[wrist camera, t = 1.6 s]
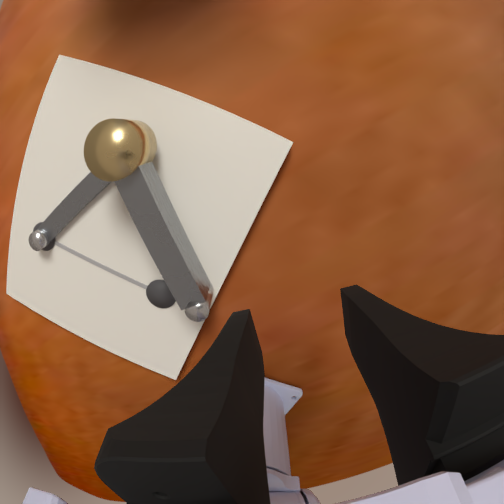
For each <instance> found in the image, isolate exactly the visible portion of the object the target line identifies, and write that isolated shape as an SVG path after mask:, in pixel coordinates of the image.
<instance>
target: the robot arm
mask: <svg viewBox="0 0 504 504" xmlns="http://www.w3.org/2000/svg"><path fill="white" fill-rule="evenodd" d="M340 290H341V299H342V307H343V316H344V326H345V335H346V338H347V341H348V344H349V347H350V350H351V353H352V356H353V358H354V360H355V362H356V364H357V366H358V368H359V370H360V372H361V374H362V377H363V379H364V381H365V383H366V385H367V387H368V389H369V391H370V393H371V395H372V397H373V400H374V402H375V404H376V407H377V409H378V412H379V416H380V419H381V422H382V425H383V428H384V431H385V435H386V438H387V442H388V445H389V449H390V453H391V457H392V460H393V464H394V468H395V472H396V477H397V482H398V486H396V487H394V488H390V489H388V490H384V491H381V492H378V493H374V494H371V495H367V496H364V497H360V498H356V499H352V500H348V501H344V502H340V503H335V504H504V335H490V334H481V333H473V332H467V331H462V330H457V329H453V328H449V327H445V326H441V325H438V324H435V323H432V322H429V321H426V320H423V319H421V318H418V317H416V316H413V315H411V314H409V313H407V312H405V311H402V310H400V309H398V308H396V307H394V306H393V305H391V304H389V303H387V302H385V301H383V300H382V299H380V298H378V297H376V296H375V295H373V294H371V293H370V292H368V291H366V290H365V289H363V288H361V287H360V286H358V285H353V286H349V287H345V288H341V289H340ZM302 394H303V392H302V390H301V389H300V388H297V387H294V386H290V385H287V384H284V383H280V382H277V381H274V380H271V379H268V378H265V375H264V365H263V356H262V351H261V347H260V344H259V340H258V337H257V333H256V330H255V326H254V323H253V320H252V316H251V313H250V309H247V310H242V311H237V312H233V313H232V315H231V316H230V318H229V319H228V321H227V322H226V324H225V326H224V327H223V329H222V330H221V332H220V334H219V335H218V337H217V338H216V340H215V341H214V343H213V344H212V346H211V347H210V348H209V350H208V351H207V352H206V354H205V355H204V356H203V357H202V359H201V360H200V361H199V362H198V364H197V365H196V366H195V367H194V368H193V369H192V370H191V371H190V372H189V373H188V374H187V375H186V376H185V377H184V378H183V379H182V380H181V381H180V382H179V383H178V384H177V385H176V386H174V387H173V388H172V389H171V390H170V391H169V392H167V393H166V394H165V395H164V396H163V397H161V398H160V399H159V400H157V401H156V402H154V403H153V404H151V405H150V406H149V407H147V408H145V409H144V410H142V411H141V412H139V413H137V414H136V415H134V416H132V417H130V418H129V419H127V420H125V421H123V422H121V423H119V424H117V425H115V426H113V427H111V428H109V429H108V431H107V433H106V435H105V438H104V441H103V443H102V446H101V448H100V451H99V454H98V456H97V459H96V462H95V467H94V468H95V471H96V473H97V475H98V476H99V478H100V479H101V480H102V481H103V482H104V483H105V484H106V485H107V486H108V487H109V488H110V489H111V490H113V491H114V492H115V493H116V494H117V495H118V496H120V497H121V498H122V499H123V500H124V501H126V502H127V504H320V502H319V500H318V498H317V497H316V496H315V495H314V494H313V493H312V491H310V490H309V489H300V483H299V477H298V476H291V470H290V460H289V451H288V441H287V432H286V422H285V415H286V414H287V413H288V411H289V410H290V409H291V408H292V407H293V406H294V404H295V403H296V402H297V401H298V400H299V399H300V397H301V396H302ZM293 396H295V397H293ZM23 504H68V503H67V502H65V501H64V500H63V499H61V498H60V497H58V496H56V495H54V494H52V493H49V492H46V491H43V490H39V489H36V488H33V487H30V488H29V490H28V492H27V494H26V497H25V499H24V501H23Z"/></svg>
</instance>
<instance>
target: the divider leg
mask: <svg viewBox="0 0 504 504" xmlns="http://www.w3.org/2000/svg"><path fill="white" fill-rule="evenodd" d="M156 151H157V140H156V136H155V134H154V132H153V130H152V129H151V128H150V127H149V126H148V125H147V124H146V123H144V122H142V121H138V120H129V119H115V118H112V119H106V120H103V121H101V122H99V123H98V124H96V125H95V126H94V127H93V128H92V129H91V130H90V132H89V133H88V135H87V137H86V140H85V144H84V159H85V163H86V165H87V167H88V169H89V170H90V172H91V173H92V174H93V175H94V176H95V177H97V178H99V179H101V180H104V181H114V182H115V184H116V186H117V188H118V191H119V193H120V195H121V197H122V199H123V201H124V203H125V205H126V207H127V209H128V212H129V214H130V216H131V218H132V220H133V222H134V224H135V226H136V228H137V230H138V232H139V234H140V236H141V238H142V239H143V241H144V243H145V245H146V247H147V249H148V251H149V253H150V255H151V257H152V259H153V260H154V262H155V264H156V266H157V268H158V270H159V272H160V273H161V275H162V277H163V279H164V281H165V283H166V284H167V286H168V288H169V290H170V291H171V293H172V295H173V297H174V298H175V300H176V302H177V304H178V305H179V307H180V309H181V310H184V309H185V314H186V316H187V317H188V318H189V319H190V320H192V321H195V322H201V321H204V320H205V319H206V318H207V317H208V315H209V310H210V305H211V301H212V296H213V291H214V288H213V285H212V284H211V282H210V280H209V279H208V277H207V275H206V273H205V271H204V269H203V267H202V265H201V263H200V261H199V259H198V257H197V255H196V253H195V251H194V249H193V247H192V245H191V243H190V241H189V239H188V237H187V235H186V232H185V230H184V228H183V226H182V224H181V222H180V220H179V218H178V216H177V214H176V212H175V210H174V208H173V205H172V203H171V201H170V199H169V197H168V195H167V193H166V191H165V188H164V186H163V184H162V182H161V180H160V178H159V175H158V173H157V171H156V169H155V167H154V165H153V162H152V161H153V159H154V157H155V155H156Z"/></svg>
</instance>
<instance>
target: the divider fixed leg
mask: <svg viewBox="0 0 504 504" xmlns="http://www.w3.org/2000/svg"><path fill="white" fill-rule="evenodd" d="M111 182H112V181H104V180H101V179H99V178H97V177H95V176H94V175H93V174H92V173H91V172H90V173H89V174H88V175H87V176H86V177H85V178H84V179H83V180H82V181H81V182H80V183H79V184H78V185H77V186H76V187H75V188H74V189H73V190H72V191H71V192H70V193H69V194H68V195H67V196H66V197H65V198H64V200H63V201H62V202H61V203H60V204H59V205H58V206H57V207H56V208H55V209H54V210H53V212H52V213H51V214H50V215H49V216H48V217H47V218H46V219H45V221H44V222H43V223H42V224H41V225H40V226H39V228H38V229H37V230H36V231H34V232H32V233H31V234H30V235H29V244H30V246H31V248H32V249H33V250H35V251H40V250H41V249H43V248H44V247H46V246H47V245H49V243H50V242H51V241H52V240H53V239H54V238H55V237H56V236H57V235H58V234H59V233H60V232H61V231H62V230H63V229H64V228H65V227H66V226H67V225H68V224H69V223H70V222H71V221H72V220H73V219H74V218H75V217H76V216H77V215H78V214H79V213H80V212H81V211H82V210H83V209H84V208H85V207H86V206H87V205H88V204H89V203H90V202H91V201H92V200H93V199H94V198H95V197H96V196H97V195H98V194H99V193H100V192H101V191H103V190H104V189H105V188H106V187H107V186H108V185H109V184H110V183H111Z"/></svg>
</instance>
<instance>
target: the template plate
mask: <svg viewBox="0 0 504 504" xmlns="http://www.w3.org/2000/svg"><path fill="white" fill-rule="evenodd" d="M112 118H115V119H129V120H138V121H142V122H144V123H146V124H147V125H148V126H149V127H150V128H151V129H152V130H153V132H154V134H155V136H156V140H157V151H156V155H155V157H154V159H153V161H152V162H153V165H154V167H155V169H156V171H157V173H158V175H159V178H160V180H161V182H162V184H163V186H164V188H165V191H166V193H167V195H168V197H169V199H170V201H171V203H172V205H173V208H174V210H175V212H176V214H177V216H178V218H179V220H180V222H181V224H182V226H183V228H184V230H185V232H186V235H187V237H188V239H189V241H190V243H191V245H192V247H193V249H194V251H195V253H196V255H197V257H198V259H199V261H200V263H201V265H202V267H203V269H204V271H205V273H206V275H207V277H208V279H209V280H210V282H211V284H212V285H213V288H214V291H213V296H212V301H211V305H210V308H211V306H212V304H213V302H214V300H215V298H216V296H217V294H218V292H219V290H220V288H221V286H222V284H223V282H224V280H225V278H226V276H227V274H228V272H229V270H230V268H231V266H232V264H233V262H234V260H235V258H236V256H237V253H238V251H239V249H240V247H241V245H242V243H243V241H244V239H245V237H246V235H247V233H248V231H249V229H250V227H251V225H252V223H253V221H254V219H255V217H256V215H257V213H258V211H259V209H260V207H261V205H262V203H263V201H264V199H265V197H266V195H267V193H268V191H269V189H270V187H271V185H272V183H273V181H274V179H275V177H276V175H277V173H278V171H279V169H280V168H281V166H282V164H283V162H284V160H285V158H286V156H287V154H288V152H289V150H290V148H291V146H292V144H293V142H291V141H290V140H288V139H286V138H283V137H281V136H279V135H277V134H275V133H273V132H271V131H269V130H267V129H265V128H263V127H261V126H259V125H256V124H254V123H252V122H250V121H248V120H245V119H243V118H241V117H239V116H237V115H234V114H232V113H230V112H227V111H225V110H223V109H220V108H218V107H216V106H213V105H211V104H208V103H206V102H203V101H201V100H199V99H196V98H193V97H191V96H188V95H186V94H183V93H181V92H178V91H175V90H173V89H170V88H167V87H164V86H162V85H159V84H156V83H153V82H150V81H147V80H145V79H142V78H139V77H136V76H133V75H129V74H126V73H123V72H120V71H117V70H114V69H110V68H107V67H103V66H100V65H97V64H93V63H89V62H86V61H82V60H78V59H74V58H70V57H66V56H62V55H59V57H58V59H57V61H56V64H55V66H54V68H53V71H52V73H51V76H50V78H49V81H48V84H47V86H46V89H45V92H44V94H43V97H42V100H41V103H40V106H39V109H38V112H37V115H36V118H35V121H34V124H33V128H32V131H31V135H30V138H29V142H28V145H27V149H26V153H25V157H24V161H23V166H22V170H21V175H20V179H19V184H18V189H17V195H16V200H15V206H14V213H13V220H12V227H11V235H10V244H9V255H8V269H7V293H6V294H8V295H10V296H11V297H13V298H14V299H16V300H17V301H19V302H20V303H22V304H24V305H25V306H27V307H29V308H30V309H32V310H33V311H35V312H37V313H38V314H40V315H42V316H44V317H45V318H47V319H49V320H50V321H52V322H54V323H56V324H58V325H59V326H61V327H63V328H65V329H67V330H68V331H70V332H72V333H74V334H76V335H78V336H80V337H82V338H84V339H86V340H87V341H89V342H91V343H93V344H95V345H97V346H99V347H102V348H104V349H106V350H108V351H110V352H112V353H114V354H116V355H118V356H120V357H123V358H125V359H127V360H129V361H131V362H134V363H136V364H138V365H141V366H143V367H145V368H148V369H150V370H152V371H155V372H157V373H160V374H162V375H164V376H167V377H169V378H172V379H175V380H176V379H177V377H178V375H179V373H180V370H181V368H182V366H183V364H184V362H185V360H186V358H187V356H188V354H189V352H190V350H191V348H192V346H193V343H194V341H195V339H196V337H197V335H198V333H199V331H200V329H201V327H202V325H203V323H204V321H205V320H204V321H201V322H195V321H192V320H190V319H189V318H188V317H187V316H186V314H185V309H184V310H181V309H180V307H179V305H178V304H177V302H176V300H175V298H174V297H173V295H172V293H171V291H170V290H169V288H168V286H167V284H166V283H165V281H164V279H163V277H162V275H161V273H160V272H159V270H158V268H157V266H156V264H155V262H154V260H153V259H152V257H151V255H150V253H149V251H148V249H147V247H146V245H145V243H144V241H143V239H142V238H141V236H140V234H139V232H138V230H137V228H136V226H135V224H134V222H133V220H132V218H131V216H130V214H129V212H128V209H127V207H126V205H125V203H124V201H123V199H122V197H121V195H120V193H119V191H118V188H117V186H116V184H115V182H114V181H112V182H111V183H110V184H109V185H108V186H107V187H106V188H105V189H104V190H103V191H101V192H100V193H99V194H98V195H97V196H96V197H95V198H94V199H93V200H92V201H91V202H90V203H89V204H88V205H87V206H86V207H85V208H84V209H83V210H82V211H81V212H80V213H79V214H78V215H77V216H76V217H75V218H74V219H73V220H72V221H71V222H70V223H69V224H68V225H67V226H66V227H65V228H64V229H63V230H62V231H61V232H60V233H59V234H58V235H57V236H56V237H55V238H54V239H53V240H52V241H51V242H50V243H49V245H47V246H46V247H44V248H43V249H41V250H40V251H35V250H33V249H32V248H31V246H30V244H29V235H30V234H31V233H32V232H34V231H36V230H37V229H38V228H39V226H40V225H41V224H42V223H43V222H44V221H45V219H46V218H47V217H48V216H49V215H50V214H51V213H52V212H53V210H54V209H55V208H56V207H57V206H58V205H59V204H60V203H61V202H62V201H63V200H64V198H65V197H66V196H67V195H68V194H69V193H70V192H71V191H72V190H73V189H74V188H75V187H76V186H77V185H78V184H79V183H80V182H81V181H82V180H83V179H84V178H85V177H86V176H87V175H88V174H89V173H90V170H89V169H88V167H87V165H86V163H85V159H84V144H85V140H86V137H87V135H88V133H89V132H90V130H91V129H92V128H93V127H94V126H95V125H96V124H98V123H99V122H101V121H103V120H106V119H112Z"/></svg>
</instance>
